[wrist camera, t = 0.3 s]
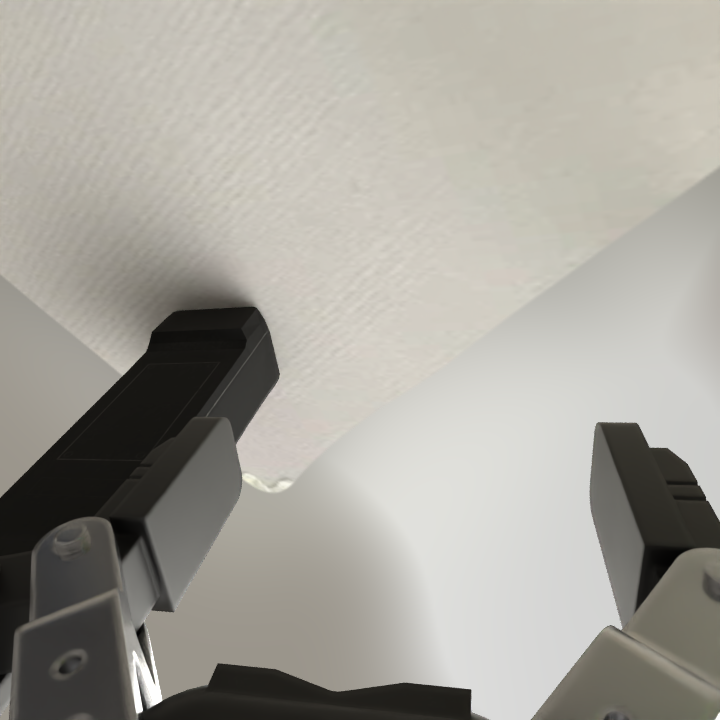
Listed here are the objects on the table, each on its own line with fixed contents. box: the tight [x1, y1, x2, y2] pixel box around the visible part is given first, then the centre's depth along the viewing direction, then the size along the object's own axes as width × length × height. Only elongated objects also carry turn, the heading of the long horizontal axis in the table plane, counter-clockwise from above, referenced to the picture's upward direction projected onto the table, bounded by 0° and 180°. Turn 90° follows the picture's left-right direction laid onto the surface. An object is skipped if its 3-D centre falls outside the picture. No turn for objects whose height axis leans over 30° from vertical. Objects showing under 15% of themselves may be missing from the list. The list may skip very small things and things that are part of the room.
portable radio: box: [0, 307, 280, 556], centre depth 29 cm, size 8×6×25 cm
